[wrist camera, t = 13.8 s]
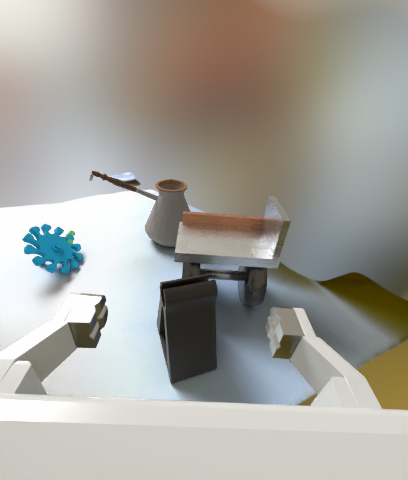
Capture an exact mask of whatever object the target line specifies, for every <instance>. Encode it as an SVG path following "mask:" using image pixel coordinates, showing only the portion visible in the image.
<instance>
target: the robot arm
mask: <svg viewBox="0 0 408 480" xmlns="http://www.w3.org/2000/svg"><path fill="white" fill-rule="evenodd" d="M105 302H106V298H105V296H104V295H94V294H83V293H70V294H69V295H68V297H67V298H66V300H65V301H64V303H63V305H62V306H61V308H60V309H59V311H58V313H57V314H56V316H55V317H54V319H53V321H48V322H46V323H45V324H43V325H42V326H40V327H39V328H37V329H36V330H34V331H33V332H31V333H29V334H28V335H26V336H25V337H23V338H22V339H20V340H19V341H17V342H15V343H14V344H12V345H11V346H9V347H8V348H6V349H5V350H3V351H2V352H0V480H408V410H393V409H392V410H391V409H382V408H381V406H380V404H379V402H378V400H377V399H376V397H375V395H374V393H373V391H372V390H371V388H370V386H369V384H368V382H367V381H366V378H365V377H364V376H363V375H362V374H360V373H359V372H358V371H357V370H356V369H355V368H354V367H352V366H351V365H350V364H349V363H348V362H347V361H346V360H345V359H343V358H342V357H341V356H340V355H339V354H338V353H337V352H335V351H334V350H333V349H332V348H331V347H330V346H329V345H327V344H326V343H325V342H324V341H323V340H322V339H321V338H320V337H316V335H315V333H314V331H313V328H312V326H311V324H310V322H309V319H308V317H307V315H306V313H305V311H304V309H303V308H290V307H272V308H271V310H270V314H271V315H270V316H269V317H267V320H266V334H267V337H268V338H269V339H270V340H271V342H270V344H269V346H270V350H271V354H272V357H273V358H283V359H290V361H291V362H292V364H293V365H294V366H295V367H296V369H297V370H298V371H299V372H300V374H301V375H302V376H303V377H304V379H305V380H306V381H307V382H308V384H309V385H310V386H311V387H312V389H313V390H314V391H315V392H316V394H317V395H318V396H317V397H316V398H315V400H314V401H313V402H312V404H311V406H297V405H272V404H249V403H226V402H203V401H179V400H155V399H131V398H107V397H83V396H59V395H47V393H46V391H45V389H44V387H43V385H42V383H41V382H42V381H43V380H44V379H45V378H46V377H47V376H48V375H49V374H50V373H51V372H52V371H53V370H54V369H55V368H57V367H58V366H59V365H60V364H61V363H62V362H63V361H64V360H65V359H66V358H67V357H68V356H69V355H70V354H72V353H73V352H74V351H75V350H76V349H77V348H96V346H97V344H98V341H99V339H100V336H101V332H100V330H101V329H102V328H103V327H104V326H105V324H106V321H107V316H108V309H107V306H106V305H104V304H105Z"/></svg>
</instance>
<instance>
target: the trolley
mask: <svg viewBox="0 0 408 480" xmlns="http://www.w3.org/2000/svg"><path fill="white" fill-rule="evenodd" d="M290 223H291V220H290V219H289V217H288V215H287V214H286V212H285V211H284V209H283V208H282V206H281V205H280V203H279V201H278V200H277V198H276V197H272V196H270V197H269V200H268V204H267V208H266V211H265V215H264V217H253V216H240V215H227V214H214V213H201V212H188V211H183V222H180V223H179V229H178V235H177V242H176V248H175V260H174V262H183V274H182V279H183V278H188V277H194V276H199V275H205V274H212V277H209V279H219V280H236V281H238V291H239V297H240V301H241V303H242V304H250V305H260V304H261V303H262V302H263V299H264V296H265V292H266V286H267V268H278V265H279V262H280V258H279V257H280V254H281V251H282V247H283V245H284V241H285V238H286V235H287V232H288V229H289V226H290ZM200 263H203V264H218V265H234V266H239V271H232V270H216V269H201V268H200Z"/></svg>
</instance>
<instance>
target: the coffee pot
mask: <svg viewBox="0 0 408 480" xmlns="http://www.w3.org/2000/svg"><path fill="white" fill-rule="evenodd" d="M92 175H95V176H96V177H100V178H102V180H107V181H109V182H111V183H113V184H114V185H116V186H119V187H122V188H126V189H128V190H131V191H134V192H137V193H140V194H142V195H144V196H147V197H149V198H151V199H154V200H156V202H155V205H154V207H153V209H152V211H151V214H150V216H149V218H148V220H147V223H146V225H145V231H146V233H147V235H148V236H149V238H151V239H152V240H153V241H155V242H156V243H158V244H159V245H162V246H165V247H176V242H177V235H178V229H179V223H180V222H183V211H188V212H190V210H189V207H188V205H187V202H186V200H185V198H184V191H185V190H186V189H187V185H186V184H185V183H184V182H181V181H178V180H173V179H169V180H162V181H159V182H157V183H156V188H157V189H158V191H159V195H158V196H156V195H153V194H151V193H148V192H145V191H143V190H140V189H137V188H136V187H134V186H132V185H129V184H127V183H125V182H123V181H121V180H119V179H115V178H112V177H108V176H107V175H106V174H103V175H102V174H100V173H99V172H95V171H92ZM92 175H91V177H92V178H93V176H92ZM91 177H90V181H91V180H92V178H91Z"/></svg>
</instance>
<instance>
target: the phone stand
mask: <svg viewBox="0 0 408 480" xmlns="http://www.w3.org/2000/svg"><path fill="white" fill-rule="evenodd" d="M209 277H212V274H205V275H199V276H194V277H188V278H183V279H177V280H171V281H166V282H161V283H160V303H159V310H158V318H157V327H158V331H159V335H160V340H161V344H162V348H163V352H164V357H165V361H166V365H167V369H168V374H169V378H170V382H171V383H173V382H176V381H179V380H183V379H186V378H189V377H192V376H195V375H198V374H201V373H204V372H207V371H210V370H213V369H216V368H217V361H216V321H215V301H216V297H217V285H216V281H215V280H211V281H208V279H209Z"/></svg>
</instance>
